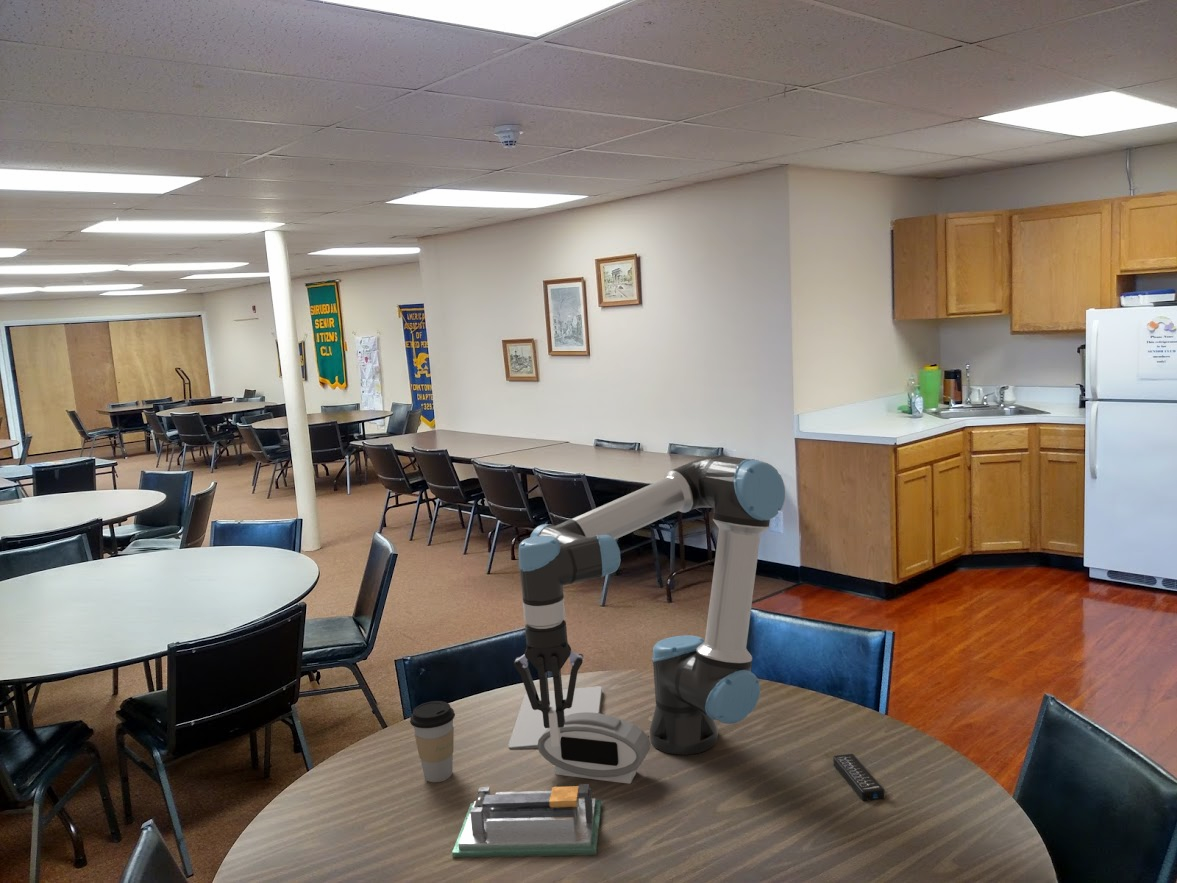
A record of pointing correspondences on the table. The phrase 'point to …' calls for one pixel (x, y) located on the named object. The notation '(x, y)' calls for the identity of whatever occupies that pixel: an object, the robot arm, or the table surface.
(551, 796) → the orange tipped grey lever
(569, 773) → the alarm clock
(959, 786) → the table surface
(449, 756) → the coffee cup
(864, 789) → the multiport hub
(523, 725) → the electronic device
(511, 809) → the heatsink
